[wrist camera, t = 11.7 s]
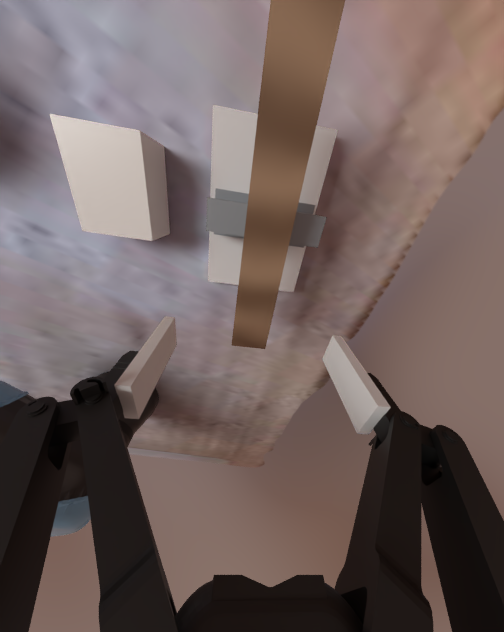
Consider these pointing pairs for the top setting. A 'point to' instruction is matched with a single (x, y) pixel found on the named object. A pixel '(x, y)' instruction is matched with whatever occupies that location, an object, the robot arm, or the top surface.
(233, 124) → the ridge stand
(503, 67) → the top surface
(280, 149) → the walnut rod
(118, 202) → the block
